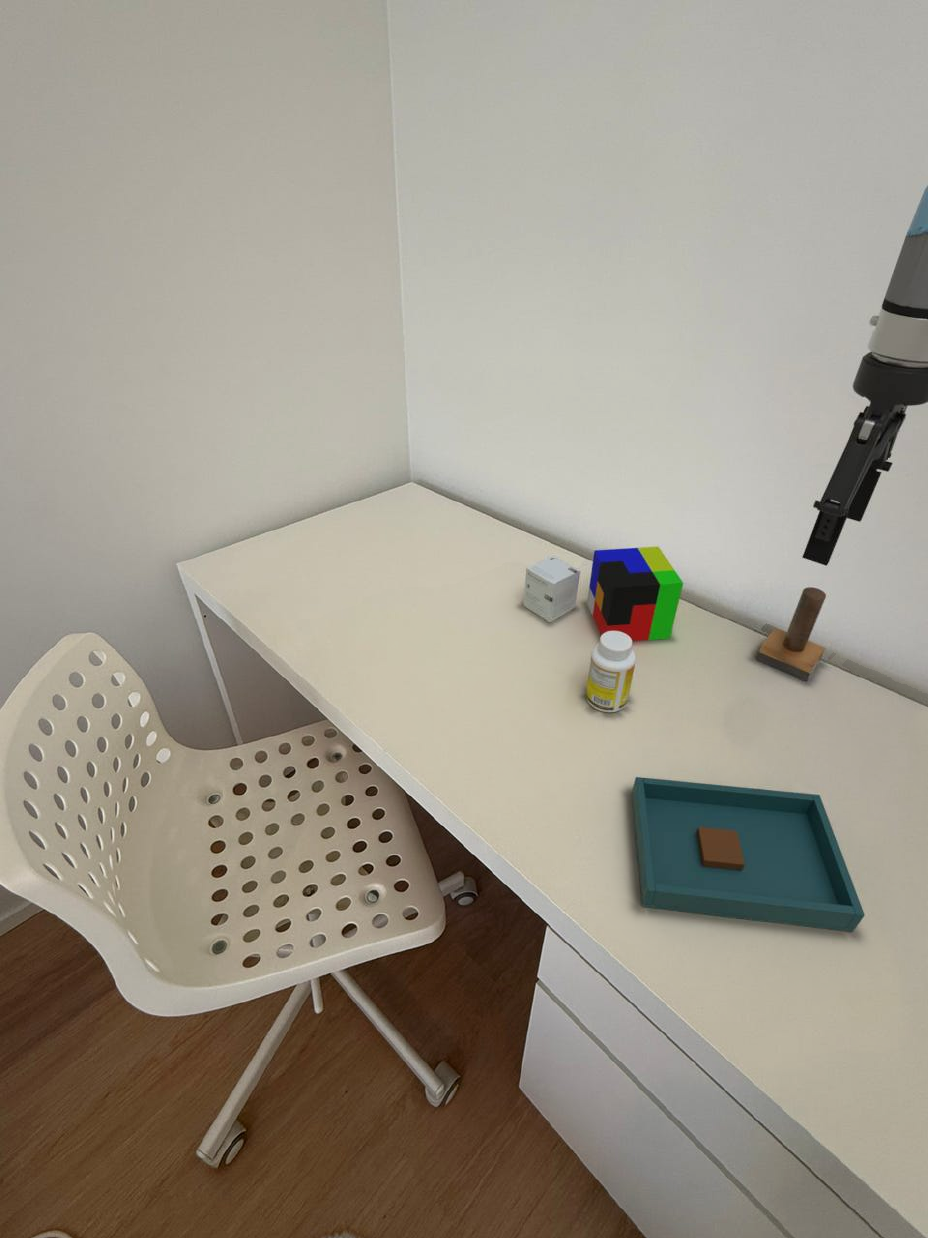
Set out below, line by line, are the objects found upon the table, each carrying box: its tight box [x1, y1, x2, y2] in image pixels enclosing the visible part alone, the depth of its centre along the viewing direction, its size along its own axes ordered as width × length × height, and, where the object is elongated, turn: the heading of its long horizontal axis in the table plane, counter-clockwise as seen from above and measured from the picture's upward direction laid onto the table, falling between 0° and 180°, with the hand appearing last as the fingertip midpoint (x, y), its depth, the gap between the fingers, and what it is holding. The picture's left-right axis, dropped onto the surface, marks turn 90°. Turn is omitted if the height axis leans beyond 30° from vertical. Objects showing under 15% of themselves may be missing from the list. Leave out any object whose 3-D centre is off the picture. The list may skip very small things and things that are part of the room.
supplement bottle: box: [585, 631, 637, 713], centre depth 83 cm, size 6×6×10 cm
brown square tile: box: [696, 827, 745, 871], centre depth 67 cm, size 4×4×1 cm
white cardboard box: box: [522, 555, 581, 623], centre depth 101 cm, size 6×6×7 cm
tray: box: [631, 776, 866, 933], centre depth 67 cm, size 20×14×3 cm
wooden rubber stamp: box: [756, 586, 827, 682], centre depth 89 cm, size 7×5×12 cm
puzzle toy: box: [586, 546, 684, 642], centre depth 97 cm, size 10×10×10 cm
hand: (833, 538), depth 79 cm, fingers open, 13 cm apart
